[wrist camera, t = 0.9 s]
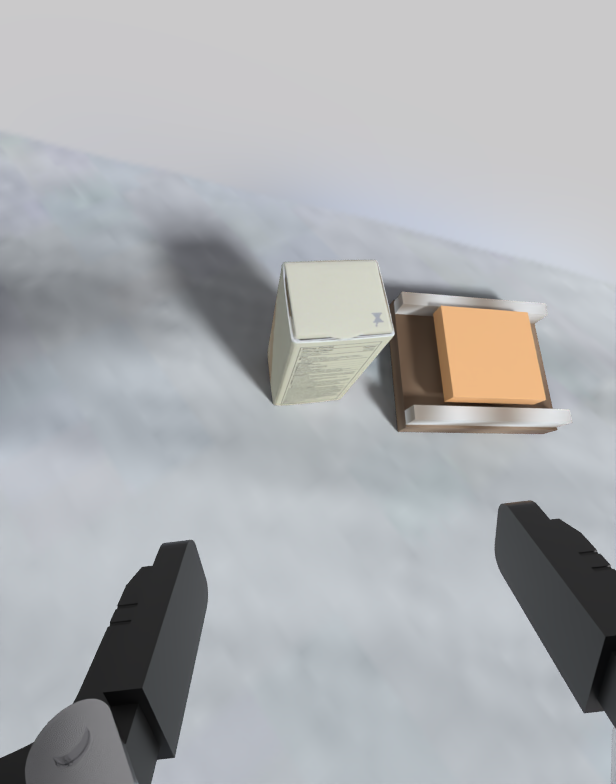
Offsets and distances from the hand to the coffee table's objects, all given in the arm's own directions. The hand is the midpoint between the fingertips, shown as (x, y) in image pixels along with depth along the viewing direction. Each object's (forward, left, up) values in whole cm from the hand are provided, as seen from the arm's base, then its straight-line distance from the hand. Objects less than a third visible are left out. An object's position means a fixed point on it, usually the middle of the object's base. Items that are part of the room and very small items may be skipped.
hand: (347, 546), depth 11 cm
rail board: (+15, +12, -16) cm, 25 cm away
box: (+2, +11, -16) cm, 20 cm away
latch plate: (+15, +12, -13) cm, 23 cm away
